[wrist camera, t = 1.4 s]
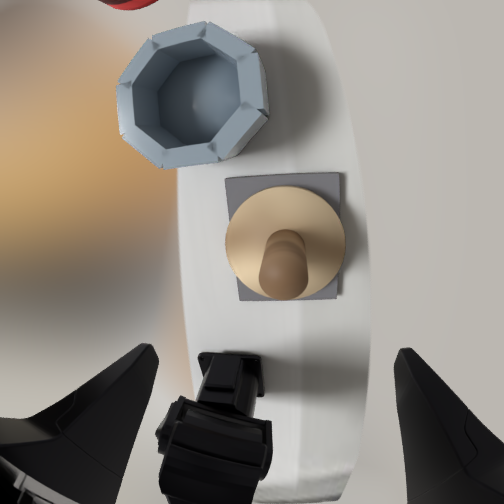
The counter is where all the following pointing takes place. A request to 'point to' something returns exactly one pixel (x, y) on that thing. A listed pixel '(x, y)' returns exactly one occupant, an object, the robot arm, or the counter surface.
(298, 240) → the lid
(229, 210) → the mat
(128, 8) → the canned food
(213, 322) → the counter surface
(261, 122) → the bowl
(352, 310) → the counter surface
